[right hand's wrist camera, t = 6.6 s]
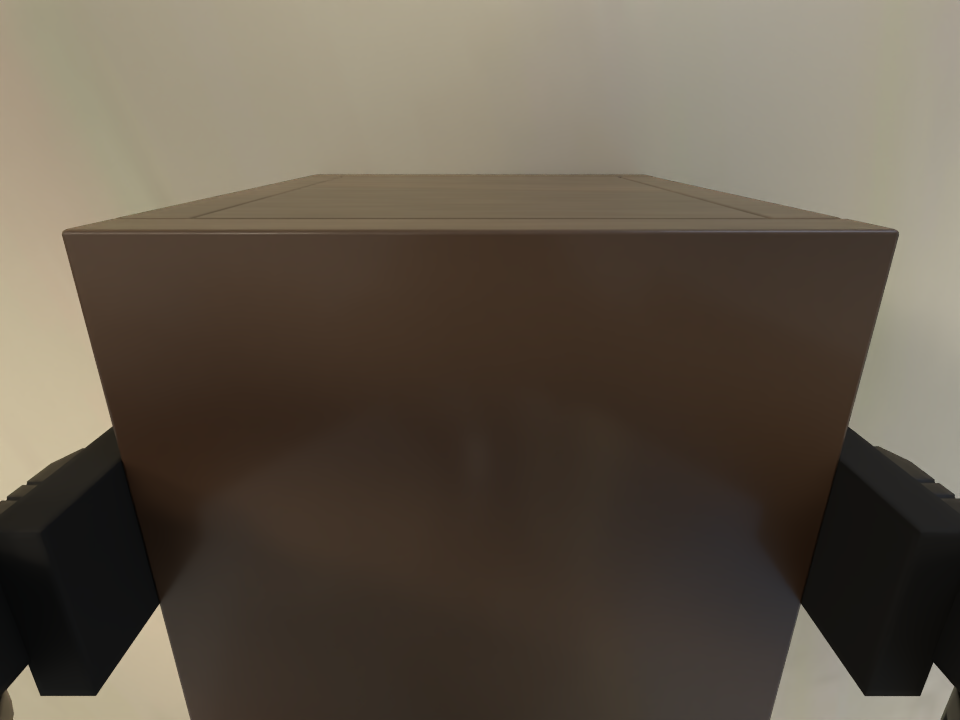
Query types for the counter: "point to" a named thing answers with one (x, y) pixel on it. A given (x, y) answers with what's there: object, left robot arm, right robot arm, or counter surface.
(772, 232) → the cabinet
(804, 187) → the counter surface
